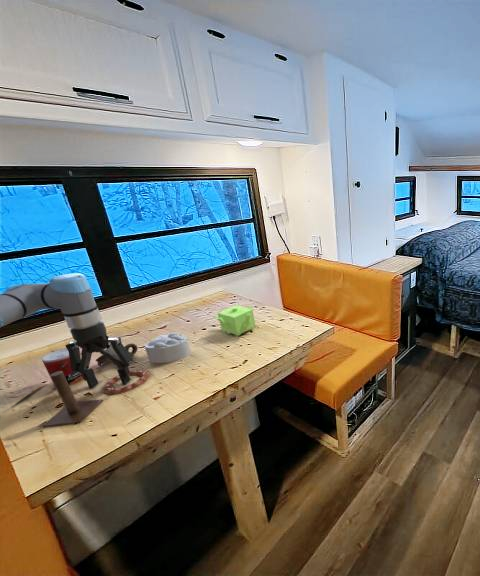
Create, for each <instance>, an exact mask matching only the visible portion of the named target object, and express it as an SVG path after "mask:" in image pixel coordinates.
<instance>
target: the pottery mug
mask: <svg viewBox="0 0 480 576" xmlns="http://www.w3.org/2000/svg"><path fill="white" fill-rule="evenodd" d="M124 347H125V349H126V350H127V352H128V353H129V355H130V356H131V358H132V359H133V361H134V357H135V355H136V354H137V352H138V345H137V344H135V343H134V342H133V343H128V344H126V345H124ZM130 348H132V349H131V351H129V350H130ZM95 362H97V366H98V367H100V368H101V367H102V364H105V363H106V364H107V363H109V362H112V361H111V360H110V359H109V358H107V357H106V356H105V355H102V354H101V355H100V356H98V357H97V358H96V359H95Z"/></svg>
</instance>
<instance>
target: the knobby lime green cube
mask: <svg viewBox="0 0 480 576" xmlns="http://www.w3.org/2000/svg"><path fill="white" fill-rule="evenodd" d="M217 316H218V317H216V318H214V321H219V325H220V329H221V331H223V332H226V333H227V335H228V334H229V335H230V334H233V335H234V336H235V337H240V336H242V334H243V333H245V332H247V331H251V330H252V329H253V328H255V327H256V321H255V316H254V310H253V306H247V307H243V306H240V305H234V306H231V307H229V308H227V309H223V310H221V311H220V312H217Z"/></svg>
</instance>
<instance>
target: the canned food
mask: <svg viewBox="0 0 480 576" xmlns="http://www.w3.org/2000/svg"><path fill="white" fill-rule="evenodd" d="M41 361H42V363H43V365H44V368H45V369H46V371H47V373H48V376H50V375H51V374H52V373H55V372H58V371H62V372H63V374H64V376H65V378H66V380H67V382H68V384H69V387H70V386H72V385H75V384H78V383H79V382H81V381H84V379H83V377H82V375H81V373H79V372H77V371H76V372H72V371H71V365H70V358H69V351H68V350H67V348H61V349H58V350H55V351H52V352H50V353H47V354H46V355H44V356H43V357H42V358H41ZM50 379H51V378H50ZM51 381H52V379H51ZM52 384H53V386H54V387H55V385H54V383H53V381H52Z"/></svg>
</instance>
